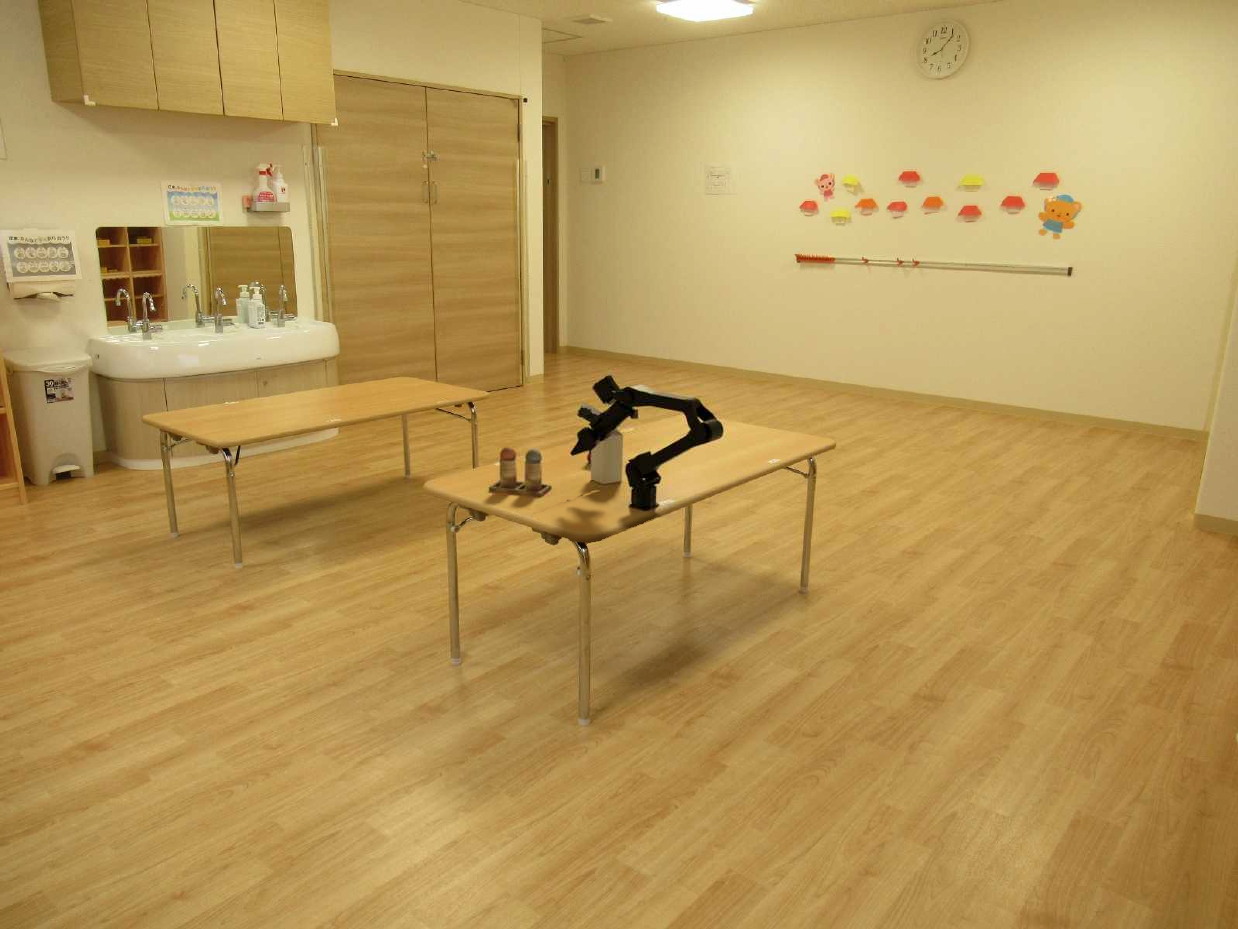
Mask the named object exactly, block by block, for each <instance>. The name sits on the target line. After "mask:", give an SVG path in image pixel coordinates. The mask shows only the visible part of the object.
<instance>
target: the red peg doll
mask: <svg viewBox="0 0 1238 929" xmlns="http://www.w3.org/2000/svg"><path fill="white" fill-rule="evenodd" d="M517 460H518V458H517V451H516V450H515V449H514V448H513V447H511V446H506V447H504V448H502V449H501V451H500V452H499V480H500V488H509V489H516V488H517V481H518V478H517V475H518V470H517V469H518V467H517V466H518V465H517V463H518V462H517Z"/></svg>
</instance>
